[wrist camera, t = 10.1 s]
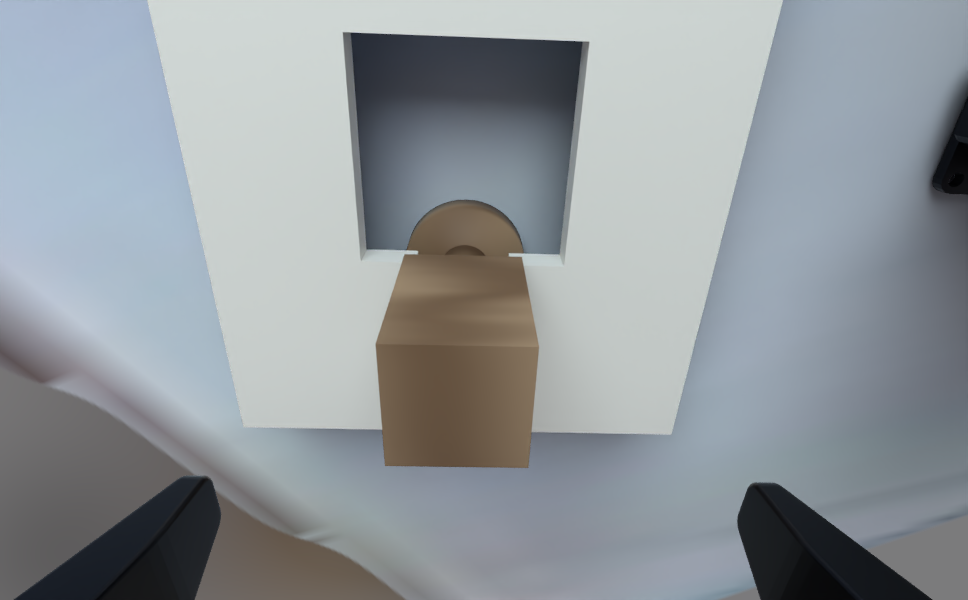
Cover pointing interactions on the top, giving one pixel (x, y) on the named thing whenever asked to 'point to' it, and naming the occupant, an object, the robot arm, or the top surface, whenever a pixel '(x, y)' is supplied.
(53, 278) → the top surface
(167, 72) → the keyhole plate
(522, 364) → the T-peg
